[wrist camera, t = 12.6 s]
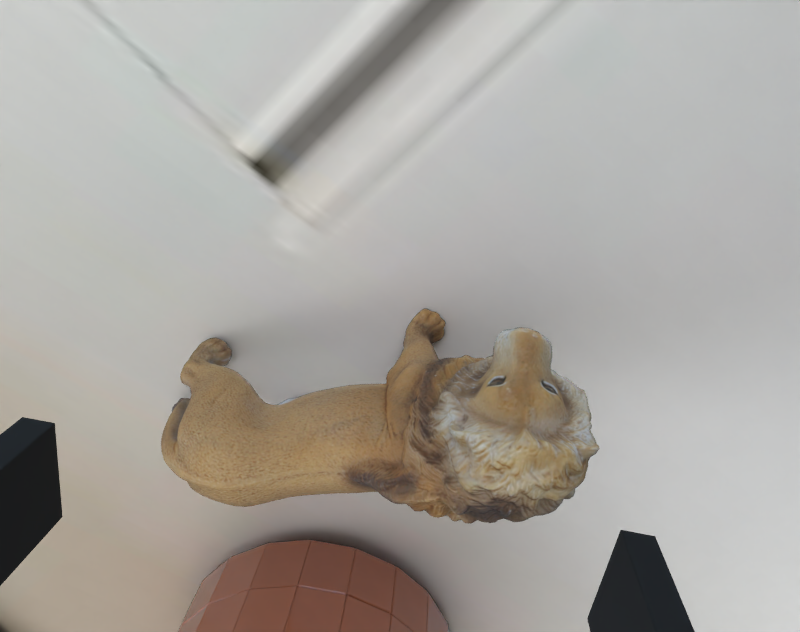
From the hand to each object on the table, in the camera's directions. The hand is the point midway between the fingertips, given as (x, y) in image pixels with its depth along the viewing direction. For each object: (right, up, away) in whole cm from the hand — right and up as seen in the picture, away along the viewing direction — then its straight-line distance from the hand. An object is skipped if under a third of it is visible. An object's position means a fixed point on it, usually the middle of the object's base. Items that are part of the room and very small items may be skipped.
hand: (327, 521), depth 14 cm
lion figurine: (0, +3, +9) cm, 9 cm away
